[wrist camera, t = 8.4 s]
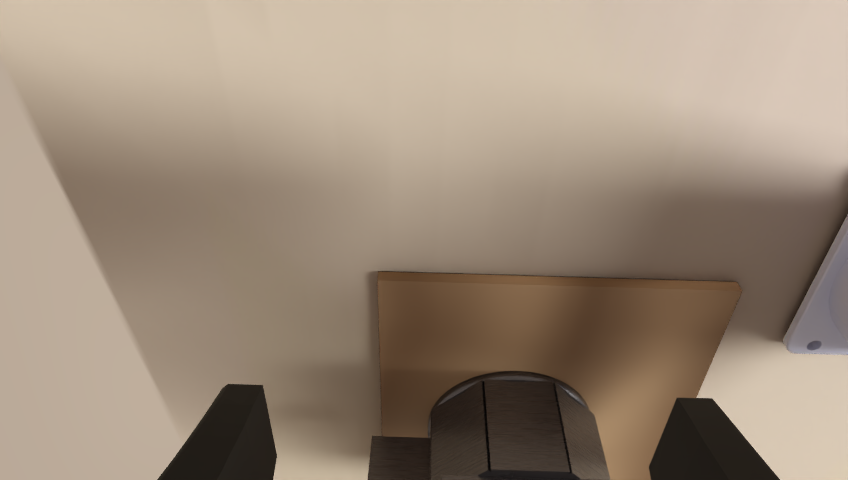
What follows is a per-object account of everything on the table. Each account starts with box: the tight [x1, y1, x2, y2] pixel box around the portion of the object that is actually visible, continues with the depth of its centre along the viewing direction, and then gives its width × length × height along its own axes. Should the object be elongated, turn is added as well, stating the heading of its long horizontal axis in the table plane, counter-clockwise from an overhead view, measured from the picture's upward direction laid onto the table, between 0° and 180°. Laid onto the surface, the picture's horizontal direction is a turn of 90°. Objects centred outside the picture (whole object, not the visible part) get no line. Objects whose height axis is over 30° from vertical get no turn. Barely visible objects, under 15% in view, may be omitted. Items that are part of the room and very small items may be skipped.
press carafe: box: [368, 371, 610, 480], centre depth 25 cm, size 9×7×5 cm
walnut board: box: [377, 272, 742, 480], centre depth 27 cm, size 13×18×1 cm
